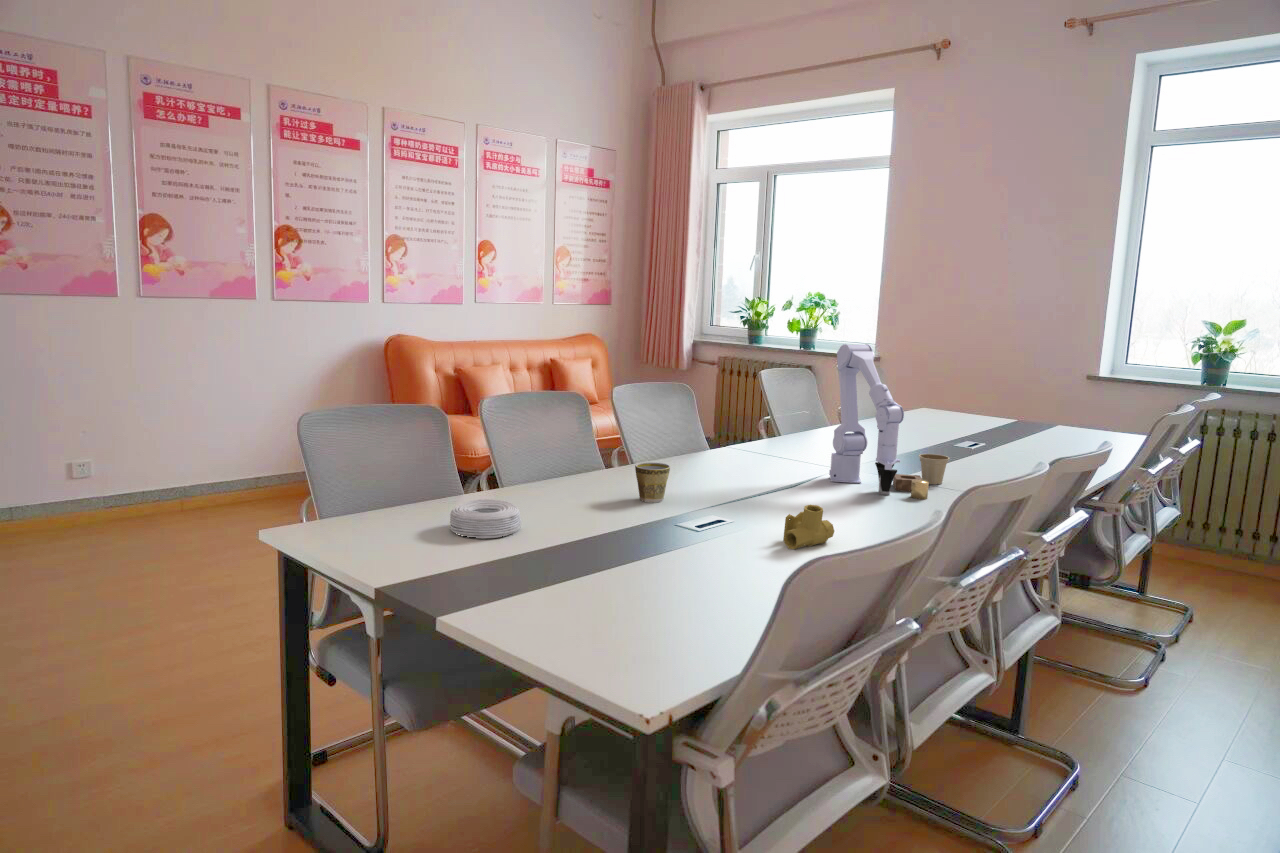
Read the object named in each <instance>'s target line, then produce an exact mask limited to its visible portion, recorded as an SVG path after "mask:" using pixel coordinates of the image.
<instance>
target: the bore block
mask: <svg viewBox="0 0 1280 853" xmlns="http://www.w3.org/2000/svg"><path fill="white" fill-rule="evenodd" d="M912 480H922V476H921V475H916V474H915V475H913V474H902V473H901V474H900V473H896V474H895V476H894V478H893V481H892V486H893V488H894V490H895V491H901V492H911V486H912Z"/></svg>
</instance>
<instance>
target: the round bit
mask: <svg viewBox="0 0 1280 853" xmlns="http://www.w3.org/2000/svg"><path fill="white" fill-rule="evenodd" d="M929 485H930V484H929V482H928V481H925V480H912V486H911V491H910V498H911V499H914V500H922V501H923V500H928V498H929V497H928V495H929Z"/></svg>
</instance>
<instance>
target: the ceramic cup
mask: <svg viewBox="0 0 1280 853" xmlns="http://www.w3.org/2000/svg"><path fill="white" fill-rule="evenodd" d="M634 470H635V476H636V482H637V489H638V496H639V500H640V501H641V500H643V501H642V502H644V501H646V502H645V503H649V502H656V503H661V502H660V501H662V502H663V500H664V498H665V492H666V489H667V488H666V487H667V483H668V480H669V475H670V470H671V466H670V465H669V464H667V463H662V462H639V463H636V464H635V465H634Z"/></svg>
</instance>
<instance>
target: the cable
mask: <svg viewBox="0 0 1280 853" xmlns="http://www.w3.org/2000/svg"><path fill="white" fill-rule="evenodd" d="M449 518H450V519H449V527H450V531H451V532H453V533H454V534H455V533H457V534H460V535H463V536H467V537H466V538H469V537H476V538H475V539H495V538H502V536H503V537H506V536H509V535H511V534H514V533H516V532H518V530H519V529H520V528H521V525H522V518H521V513H520V510H519V508H518V506H516V505H515V504H513V503H512V502H509V501H507V500H501V499H492V498H491V499H489V498H488V499H487V498H484V499H483V498H481V499H473V500H468V501H464V502H461V503H460V504H457V505H455V506H454V507H453V509H451V510H450V514H449ZM463 536H462V537H463Z"/></svg>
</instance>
